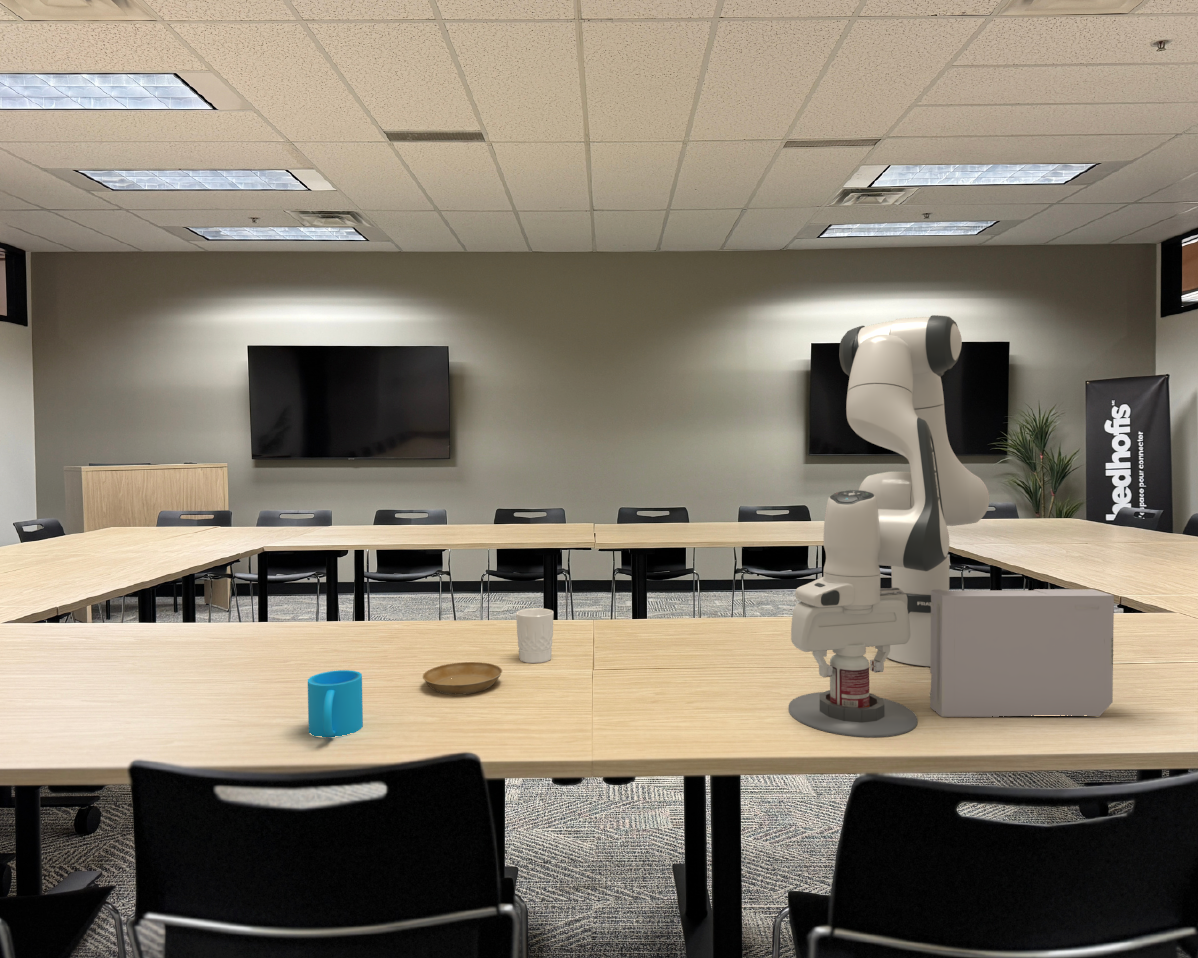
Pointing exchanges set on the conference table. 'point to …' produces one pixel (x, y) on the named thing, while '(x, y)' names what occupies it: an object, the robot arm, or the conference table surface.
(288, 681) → the conference table surface
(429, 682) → the plant saucer
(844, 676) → the pill bottle
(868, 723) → the round tray
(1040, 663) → the game console
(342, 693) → the mug
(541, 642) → the white cup
